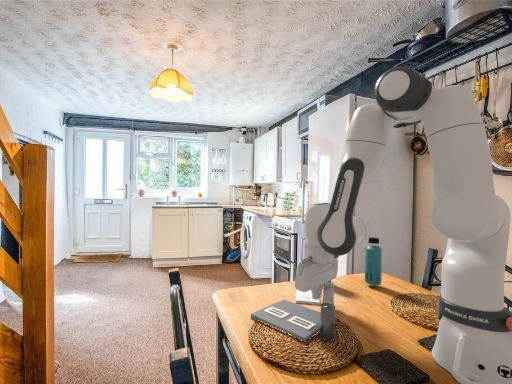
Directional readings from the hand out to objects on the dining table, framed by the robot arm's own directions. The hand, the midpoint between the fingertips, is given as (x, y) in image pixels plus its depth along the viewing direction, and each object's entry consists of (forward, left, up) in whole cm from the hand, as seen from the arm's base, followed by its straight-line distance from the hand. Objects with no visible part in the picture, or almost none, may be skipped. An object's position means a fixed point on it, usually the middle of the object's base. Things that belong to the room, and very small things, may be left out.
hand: (316, 298), depth 86 cm
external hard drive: (+9, -9, -5) cm, 14 cm away
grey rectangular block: (-5, +2, -4) cm, 7 cm away
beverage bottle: (-3, -39, -5) cm, 39 cm away
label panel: (+3, +9, -5) cm, 11 cm away
